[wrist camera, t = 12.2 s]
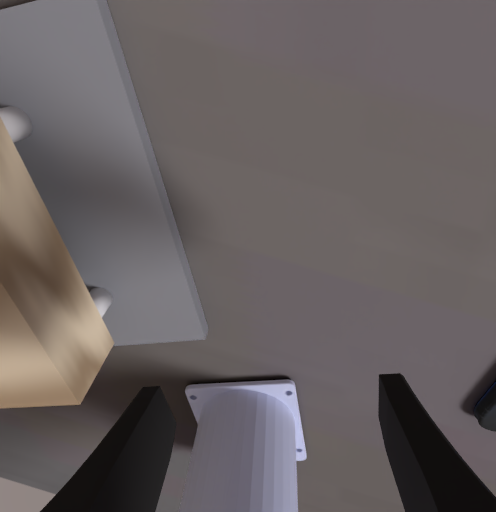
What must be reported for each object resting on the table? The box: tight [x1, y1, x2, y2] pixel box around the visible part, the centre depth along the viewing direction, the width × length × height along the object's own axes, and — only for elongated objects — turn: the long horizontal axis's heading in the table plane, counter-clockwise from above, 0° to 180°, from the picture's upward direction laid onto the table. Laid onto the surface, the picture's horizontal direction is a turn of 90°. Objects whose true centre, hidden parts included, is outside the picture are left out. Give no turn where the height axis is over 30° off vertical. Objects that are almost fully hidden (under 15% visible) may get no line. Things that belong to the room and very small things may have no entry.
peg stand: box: [0, 0, 208, 346], centre depth 18 cm, size 18×14×3 cm
